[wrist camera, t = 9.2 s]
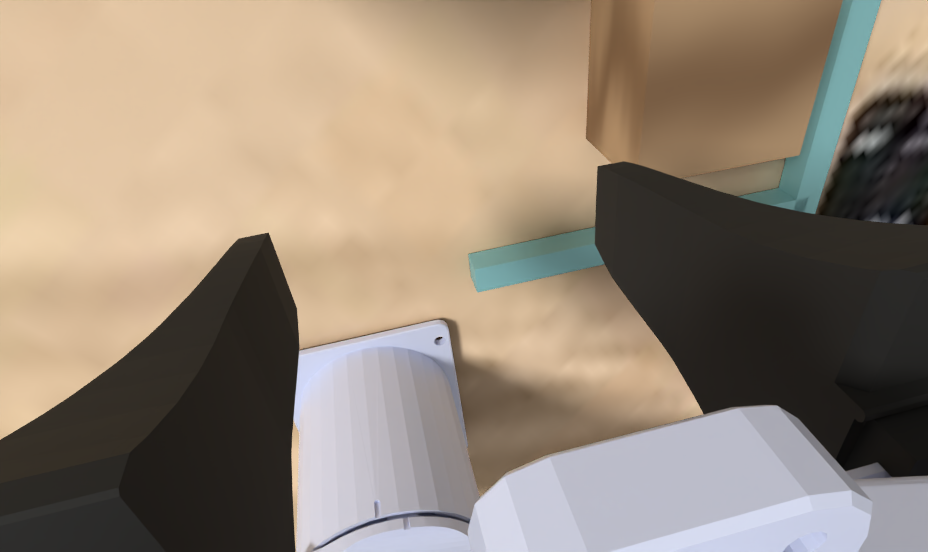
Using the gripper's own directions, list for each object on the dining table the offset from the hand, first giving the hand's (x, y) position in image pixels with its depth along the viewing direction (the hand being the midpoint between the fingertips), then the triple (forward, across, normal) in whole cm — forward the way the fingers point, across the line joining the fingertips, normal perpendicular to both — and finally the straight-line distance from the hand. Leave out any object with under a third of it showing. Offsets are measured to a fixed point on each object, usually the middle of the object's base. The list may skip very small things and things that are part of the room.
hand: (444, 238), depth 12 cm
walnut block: (+10, -10, 0) cm, 14 cm away
